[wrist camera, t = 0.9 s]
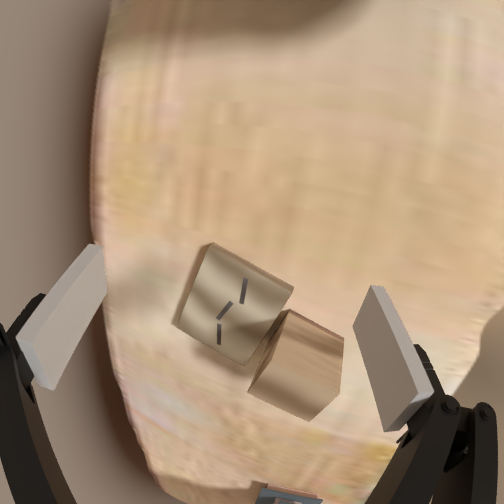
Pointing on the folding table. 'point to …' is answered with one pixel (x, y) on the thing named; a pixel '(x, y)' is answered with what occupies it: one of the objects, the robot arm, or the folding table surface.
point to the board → (232, 304)
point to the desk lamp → (286, 496)
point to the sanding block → (300, 367)
